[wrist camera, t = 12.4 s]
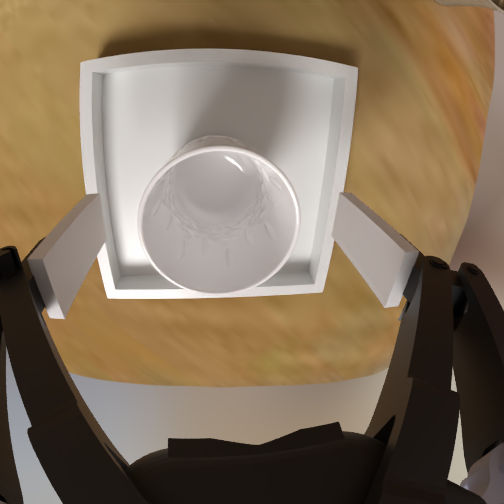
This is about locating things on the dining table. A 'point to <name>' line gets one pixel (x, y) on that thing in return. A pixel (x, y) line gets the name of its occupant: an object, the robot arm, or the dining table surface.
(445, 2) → the flower pot
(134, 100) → the tray
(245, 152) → the white cup
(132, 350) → the dining table surface
